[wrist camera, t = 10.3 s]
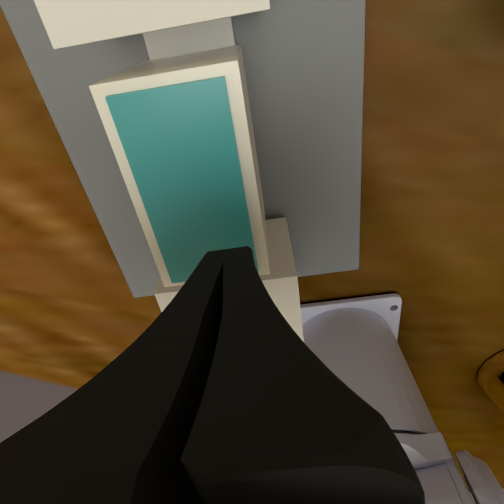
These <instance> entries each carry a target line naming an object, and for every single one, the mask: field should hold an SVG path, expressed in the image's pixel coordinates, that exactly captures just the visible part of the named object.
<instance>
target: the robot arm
mask: <svg viewBox="0 0 504 504" xmlns="http://www.w3.org/2000/svg"><path fill="white" fill-rule="evenodd" d="M393 305H395V306H393ZM401 305H402V299H401V297H400V296H399V294H395V293H393V294H385V295H376V296H368V297H360V298H351V299H343V300H335V301H327V302H318V303H310V304H302V305H300V308H301V317H302V327H303V337H304V342H303V341H302V340H301V338H300V337H299V336H298V335H297V334H296V332H295V331H294V330H293V329H292V327H291V326H290V325H289V323H288V322H287V321H286V320H285V318H284V317H283V315H282V314H281V312H280V311H279V310H278V308H277V307H276V305H275V303H274V302H273V300H272V299H271V297H270V295H269V294H268V292H267V290H266V288H265V286H264V284H263V282H262V280H261V278H260V276H259V274H258V272H257V269H256V267H255V262H254V257H253V251H252V249H251V248H250V247H248V246H244V247H237V248H230V249H222V250H215V251H207V253H206V254H205V255H204V257H203V258H202V259H201V261H200V262H199V264H198V265H197V267H196V268H195V269H194V271H193V272H192V274H191V275H190V277H189V278H188V279H187V281H186V282H185V283H184V285H183V286H182V287H181V289H180V290H179V291H178V293H177V294H176V295H175V297H174V298H173V299H172V301H171V302H170V303H169V304H168V305H167V307H166V308H165V309H164V310H163V311H162V313H161V314H160V315H159V316H158V317H157V319H156V320H155V321H154V322H153V323H152V324H151V325H150V326H149V327H148V328H147V329H146V330H145V332H143V333H142V334H141V335H140V336H139V337H138V338H137V339H136V340H135V341H134V342H133V343H132V344H131V345H130V346H129V347H128V348H127V349H126V350H125V351H124V352H123V353H122V354H120V355H119V356H118V357H117V358H116V359H115V360H113V361H112V362H111V363H110V364H109V365H108V366H106V367H105V368H104V369H103V370H102V371H101V372H100V373H98V374H97V375H96V376H95V377H94V378H92V379H91V380H90V381H88V382H87V383H86V384H85V385H83V386H82V387H81V388H79V389H78V390H77V391H76V392H74V393H73V394H72V395H70V396H69V397H67V398H66V399H65V400H63V401H62V402H61V403H59V404H58V405H57V406H55V407H54V408H52V409H51V410H49V411H48V412H47V413H45V414H44V415H42V416H41V417H39V418H38V419H36V420H35V421H33V422H32V423H30V424H29V425H27V426H26V427H24V428H23V429H21V430H20V431H18V432H16V433H15V434H13V435H12V436H10V437H9V438H7V439H6V440H4V441H3V442H1V443H0V504H474V502H473V500H472V497H471V495H470V493H469V491H468V489H467V487H466V485H465V483H464V480H463V478H462V476H461V474H460V472H459V470H458V468H457V466H456V464H455V461H454V459H453V457H452V455H451V453H450V451H449V448H448V446H447V444H446V442H445V440H444V438H443V436H442V433H441V432H438V430H437V427H436V425H435V423H434V421H433V419H432V416H431V414H430V412H429V410H428V408H427V406H426V403H425V401H424V399H423V397H422V395H421V393H420V390H419V388H418V386H417V384H416V382H415V380H414V377H413V375H412V373H411V371H410V369H409V366H408V364H407V362H406V360H405V358H404V356H403V353H402V351H401V349H400V347H399V345H398V343H397V339H398V330H399V322H400V314H401ZM391 306H393V307H391ZM454 453H455V455H456V458H457V460H458V462H459V464H460V467H461V469H462V471H463V473H464V478H465V481H466V483H467V485H468V487H469V490H470V492H471V494H472V496H473V498H474V501H475V503H476V504H504V492H503V490H502V488H501V486H500V485H499V483H498V481H497V480H496V478H495V476H494V475H493V473H492V471H491V470H490V468H489V467H488V465H487V464H486V463H485V462H484V461H482V460H480V459H479V458H477V457H475V456H472V455H471V454H470V453H469V452H468V451H466V450H463V451H458V452H454Z"/></svg>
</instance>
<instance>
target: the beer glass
mask: <svg viewBox="0 0 504 504" xmlns="http://www.w3.org/2000/svg"><path fill="white" fill-rule="evenodd" d="M477 381H478V384H479V386H480V387H481V389H482V390H483V391H484V392H485V393H486V394H487V395H488V397H489V398H490V399H491V400H492V401H493V402H494V403H495V404H496V405H497V407H498V408H499V409H500V410H501V411H502V413H503V414H504V350H503V351H501V352H499V353H497V354H496V355H494V356H492V357H491V358H490V359H488V360H487V361H486V362H485V363H484V364H483V365H482V366H481V368H480V369H479V372H478V374H477Z"/></svg>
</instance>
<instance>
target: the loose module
mask: <svg viewBox="0 0 504 504" xmlns="http://www.w3.org/2000/svg"><path fill="white" fill-rule="evenodd" d="M89 88H90V91H91V94H92V96H93V99H94V102H95V104H96V107H97V110H98V112H99V115H100V117H101V120H102V123H103V125H104V128H105V131H106V133H107V136H108V139H109V141H110V144H111V147H112V149H113V152H114V155H115V157H116V160H117V163H118V165H119V168H120V170H121V173H122V176H123V178H124V181H125V184H126V186H127V189H128V192H129V194H130V197H131V200H132V202H133V205H134V208H135V210H136V213H137V216H138V218H139V221H140V223H141V226H142V229H143V231H144V234H145V237H146V239H147V242H148V245H149V247H150V250H151V253H152V255H153V258H154V261H155V263H156V266H157V269H158V271H159V274H160V276H161V279H162V282H163V284H164V287H172V286H180V285H184V283H185V282H186V281H187V279H188V278H189V277H190V275H191V274H192V272H193V271H194V269H195V268H196V267H197V265H198V264H199V262H200V261H201V259H202V258H203V257H204V255H205V254H206V253H207V251H215V250H222V249H230V248H237V247H244V246H248V247H250V248H251V249H252V251H253V257H254V262H255V267H256V269H257V272H258V274H259V276H260V275H268V274H270V266H269V255H268V244H267V233H266V222H265V211H264V200H263V193H262V186H261V180H260V173H259V166H258V159H257V152H256V145H255V138H254V131H253V124H252V117H251V110H250V103H249V96H248V89H247V82H246V75H245V68H244V61H243V54H242V47H241V44H240V45H234V46H228V47H223V48H217V49H211V50H206V51H200V52H194V53H188V54H183V55H177V56H171V57H165V58H160V59H154V60H148V61H143V62H141V63H139V64H137V65H134V66H132V67H130V68H128V69H125V70H123V71H121V72H119V73H116V74H114V75H112V76H110V77H107V78H105V79H103V80H101V81H98V82H96V83H94V84H92V85H89Z"/></svg>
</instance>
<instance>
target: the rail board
mask: <svg viewBox="0 0 504 504" xmlns="http://www.w3.org/2000/svg"><path fill="white" fill-rule="evenodd" d="M0 5H1V8H2V10H3V12H4V14H5V16H6V19H7V21H8V23H9V25H10V27H11V29H12V32H13V34H14V36H15V38H16V40H17V43H18V45H19V47H20V49H21V51H22V54H23V56H24V58H25V60H26V62H27V64H28V67H29V69H30V71H31V73H32V75H33V78H34V80H35V82H36V84H37V86H38V89H39V91H40V93H41V95H42V97H43V99H44V102H45V104H46V106H47V108H48V110H49V113H50V115H51V117H52V119H53V121H54V124H55V126H56V128H57V130H58V132H59V134H60V137H61V139H62V141H63V143H64V145H65V148H66V150H67V152H68V154H69V156H70V159H71V161H72V163H73V165H74V167H75V169H76V172H77V174H78V176H79V178H80V180H81V183H82V185H83V187H84V189H85V191H86V194H87V196H88V198H89V200H90V202H91V204H92V207H93V209H94V211H95V213H96V215H97V218H98V220H99V222H100V224H101V226H102V229H103V231H104V233H105V235H106V237H107V239H108V242H109V244H110V246H111V248H112V250H113V253H114V255H115V257H116V259H117V261H118V264H119V266H120V268H121V270H122V272H123V274H124V277H125V279H126V281H127V283H128V285H129V288H130V290H131V292H132V294H133V296H134V298H137V297H144V296H152V295H155V297H156V299H157V302H158V304H159V307H160V309H161V312H162V311H163V310H164V309H165V308H166V307H167V305H168V304H169V303H170V302H171V301H172V299H173V298H174V297H175V295H176V294H177V293H178V291H179V290H180V289H181V287H182V286H183V285H180V286H172V287H164V284H163V282H162V279H161V276H160V274H159V271H158V269H157V266H156V263H155V261H154V258H153V255H152V253H151V250H150V247H149V245H148V242H147V239H146V237H145V234H144V231H143V229H142V226H141V223H140V221H139V218H138V216H137V213H136V210H135V208H134V205H133V202H132V200H131V197H130V194H129V192H128V189H127V186H126V184H125V181H124V178H123V176H122V173H121V170H120V168H119V165H118V163H117V160H116V157H115V155H114V152H113V149H112V147H111V144H110V141H109V139H108V136H107V133H106V131H105V128H104V125H103V123H102V120H101V117H100V115H99V112H98V110H97V107H96V104H95V102H94V99H93V96H92V94H91V91H90V88H89V85H92V84H94V83H96V82H98V81H101V80H103V79H105V78H107V77H110V76H112V75H114V74H116V73H119V72H121V71H123V70H125V69H128V68H130V67H132V66H134V65H137V64H139V63H141V62H143V61H148V60H154V59H160V58H165V57H171V56H177V55H183V54H188V53H194V52H200V51H206V50H211V49H217V48H223V47H228V46H234V45H240V44H241V47H242V54H243V61H244V68H245V75H246V82H247V89H248V96H249V103H250V110H251V117H252V124H253V131H254V138H255V145H256V152H257V159H258V166H259V173H260V180H261V186H262V193H263V200H264V211H265V222H266V233H267V244H268V255H269V266H270V274H268V275H260V278H261V280H262V282H263V284H264V286H265V288H266V290H267V292H268V294H269V295H270V297H271V299H272V300H273V302H274V303H275V305H276V307H277V308H278V310H279V311H280V312H281V314H282V315H283V317H284V318H285V320H286V321H287V322H288V323H289V325H290V326H291V327H292V329H293V330H294V331H295V332H296V334H297V335H298V336H299V337H300V338H301V340H302V341H303V342H304V337H303V327H302V317H301V308H300V298H299V288H298V278H297V277H302V276H310V275H318V274H326V273H334V272H341V271H349V270H357V269H359V242H360V200H361V159H362V117H363V76H364V35H365V0H0Z"/></svg>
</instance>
